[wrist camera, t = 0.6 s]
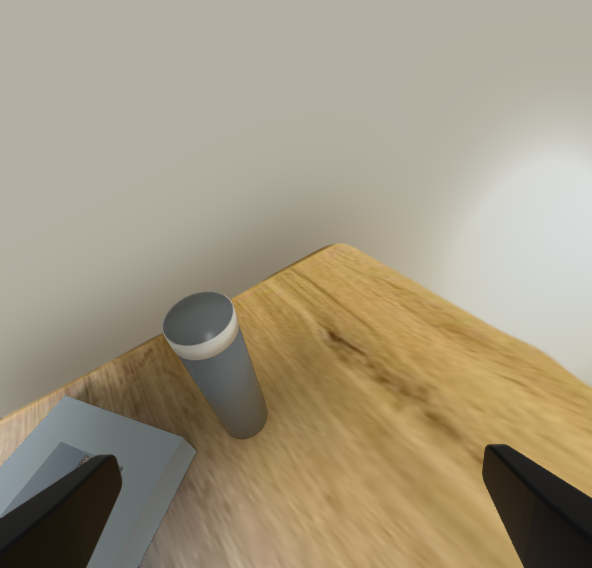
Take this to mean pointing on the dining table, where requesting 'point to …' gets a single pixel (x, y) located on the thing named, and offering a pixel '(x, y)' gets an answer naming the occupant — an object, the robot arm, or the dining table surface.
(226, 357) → the peg
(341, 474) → the dining table surface
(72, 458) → the socket
